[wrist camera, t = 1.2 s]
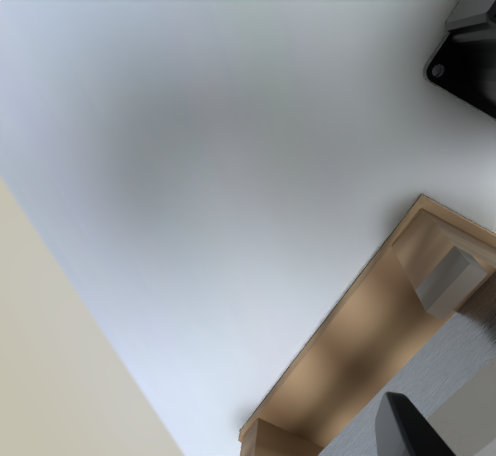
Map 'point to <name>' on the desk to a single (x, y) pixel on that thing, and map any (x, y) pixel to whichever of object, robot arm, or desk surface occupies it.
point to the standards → (373, 330)
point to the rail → (443, 383)
